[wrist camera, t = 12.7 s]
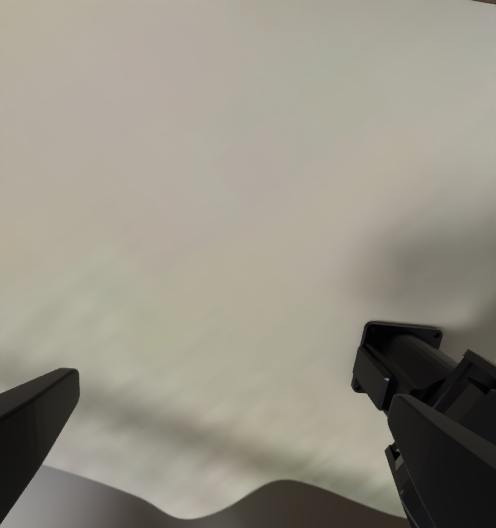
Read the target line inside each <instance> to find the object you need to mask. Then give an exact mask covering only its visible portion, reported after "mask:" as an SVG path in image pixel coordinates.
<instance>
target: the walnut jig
mask: <svg viewBox="0 0 496 528" xmlns="http://www.w3.org/2000/svg"><path fill="white" fill-rule="evenodd" d="M476 1H482V2H488V3H494V4H496V0H476Z"/></svg>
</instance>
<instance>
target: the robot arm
mask: <svg viewBox="0 0 496 528" xmlns="http://www.w3.org/2000/svg"><path fill="white" fill-rule="evenodd" d="M371 327H373V329H372V330H370V328H371ZM435 333H436V334H435ZM434 334H435V335H434ZM442 335H443V334H442V332H441V331H440V330H438V329H437V328H432V327H421V326H410V325H400V324H389V323H378V322H368V323H367V324H366V325H365V327H364V331H363V335H362V340H361V344H360V346H359V347H358V351H357V355H356V360H355V364H354V368H353V379H352V383H351V387H352V388H353V390H354V391H355V392H357V393H367V394H368V396H369V397H370V399H371V400H372V402H373V403H374V405H375V406H376V408H377V409H378V410H380V411H383V412H384V413H385V414H386V416H387V417H388V418H387V421H388V426H389V429H390V431H391V433H392V436H393V438H394V440H395V442H394V443H393V444H392V445H389V446H388V447H387V448H386V450H385V454H386V457H387V460H388V463H389V466H390V469H391V472H392V475H393V478H394V481H395V484H396V487H397V490H398V493H399V496H400V499H401V502H402V505H403V508H404V511H405V513H406V516H407V518H408V520H409V522H410V525H411V528H496V365H495V364H493V363H492V362H490V361H488V360H487V359H485V358H483V357H481V356H480V355H478V354H476V353H474V352H473V351H471V350H469V349H468V350H467V351H466V352H465V354H464V355H463V356H464V358H463V359H462V360H461V362H460V363H459V364H458V363H457V362H455V361H454V360H452V359H451V358H450V357H448V356H447V355H445V354H444V353H443V352H441V351H440V350H438V349H439V346H440V342H441V339H442ZM358 385H359V386H358ZM356 386H358V387H356ZM79 396H80V386H79V372H78V370H77V369H74V368H59V369H57V370H54V371H52V372H50V373H47V374H45V375H43V376H40V377H38V378H36V379H33V380H31V381H29V382H26V383H24V384H22V385H19V386H17V387H15V388H12V389H10V390H8V391H5V392H3V393H1V394H0V524H1V523H2V521H3V520H4V518H5V517H6V516H7V514H8V513H9V511H10V509H11V508H12V507H13V506H14V504H15V502H16V501H17V500H18V498H19V497H20V495H21V494H22V492H23V491H24V490H25V488H26V487H27V485H28V484H29V483H30V481H31V480H32V478H33V477H34V475H35V474H36V472H37V471H38V469H39V468H40V466H41V465H42V463H43V461H44V460H45V458H46V456H47V455H48V453H49V451H50V450H51V448H52V446H53V445H54V443H55V441H56V439H57V438H58V436H59V434H60V432H61V431H62V429H63V427H64V426H65V424H66V422H67V420H68V419H69V417H70V415H71V414H72V412H73V410H74V408H75V407H76V405H77V403H78V400H79Z"/></svg>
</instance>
